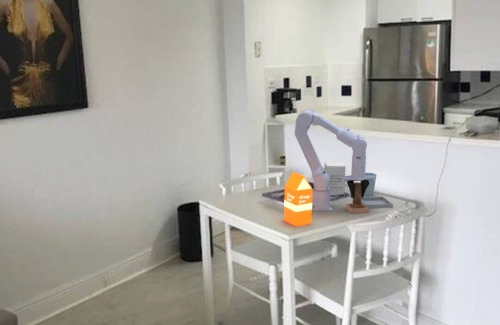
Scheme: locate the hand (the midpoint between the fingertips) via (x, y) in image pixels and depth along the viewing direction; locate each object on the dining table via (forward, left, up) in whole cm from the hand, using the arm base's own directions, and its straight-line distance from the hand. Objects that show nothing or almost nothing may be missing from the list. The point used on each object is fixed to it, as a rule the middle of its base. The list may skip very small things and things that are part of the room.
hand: (357, 197), depth 223 cm
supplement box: (-2, +29, -7) cm, 30 cm away
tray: (+11, +8, -6) cm, 15 cm away
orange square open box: (0, 0, -6) cm, 6 cm away
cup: (+13, +24, -7) cm, 28 cm away
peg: (0, 0, -3) cm, 3 cm away
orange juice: (-28, -10, -7) cm, 30 cm away
